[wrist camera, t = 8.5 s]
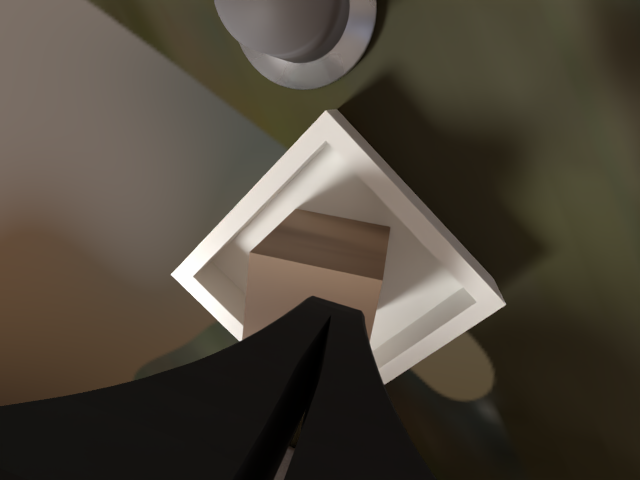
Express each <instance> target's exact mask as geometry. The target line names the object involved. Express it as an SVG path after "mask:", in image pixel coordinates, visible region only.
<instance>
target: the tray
mask: <svg viewBox="0 0 640 480" xmlns="http://www.w3.org/2000/svg"><path fill="white" fill-rule="evenodd" d="M295 209H300V210H306V211H311V212H316V213H321V214H326V215H332V216H337V217H342V218H347V219H352V220H357V221H363V222H368V223H373V224H378V225H383V226H389V227H390V234H389V241H388V248H387V255H386V262H385V269H384V275H383V282H382V286H381V291H380V296H379V301H378V305H377V310H376V315H375V319H374V324H373V329H372V334H371V338H370V346H371V349H372V352H373V355H374V358H375V361H376V364H377V367H378V370H379V373H380V376H381V378H382V381H383V383H384V385H385V384H386V383H388V382H389V381H391V380H392V379H394V378H396V377H397V376H399V375H400V374H402V373H403V372H405V371H406V370H408V369H409V368H411V367H412V366H414V365H415V364H417V363H418V362H420V361H421V360H423V359H424V358H426V357H427V356H429V355H430V354H432V353H433V352H435V351H437V350H438V349H439V348H441V347H443V346H444V345H446V344H447V343H449V342H450V341H452V340H453V339H455V338H456V337H458V336H459V335H461V334H462V333H464V332H465V331H467V330H468V329H470V328H471V327H473V326H475V325H476V324H478V323H479V322H481V321H482V320H484V319H485V318H487V317H488V316H490V315H491V314H493V313H494V312H496V311H497V310H499V309H500V308H502V307H503V306H505V305H506V303H505V301H504V299H503V297H502V295H501V293H500V291H499V289H498V286H497V284H496V282H495V280H494V278H493V277H492V276H491V275H490V274H489V273H488V272H487V271H486V270H485V269H484V268H483V267H482V265H481V264H480V263H479V262H478V261H477V260H476V259H475V258H474V257H473V256H472V255H471V254H470V252H469V251H468V250H467V249H466V248H465V247H464V246H463V245H462V244H461V243H460V242H459V241H458V240H457V238H456V237H455V236H454V235H453V234H452V233H451V232H450V231H449V230H448V229H447V228H446V227H445V225H444V224H443V223H442V222H441V221H440V220H439V219H438V218H437V217H436V216H435V215H434V214H433V212H432V211H431V210H430V209H429V208H428V207H427V206H426V205H425V204H424V203H423V202H422V201H421V199H420V198H419V197H418V196H417V195H416V194H415V193H414V192H413V191H412V190H411V189H410V188H409V186H408V185H407V184H406V183H405V182H404V181H403V180H402V179H401V178H400V177H399V176H398V175H397V174H396V172H395V171H394V170H393V169H392V168H391V167H390V166H389V165H388V164H387V163H386V162H385V161H384V159H383V158H382V157H381V156H380V155H379V154H378V153H377V152H376V151H375V150H374V149H373V148H372V146H371V145H370V144H369V143H368V142H367V141H366V140H365V139H364V138H363V137H362V136H361V135H360V133H359V132H358V131H357V130H356V129H355V128H354V127H353V126H352V125H351V124H350V123H349V122H348V121H347V119H346V118H345V117H344V116H343V115H342V114H341V113H340V112H339V111H338V110H337V109H334V110H326V111H325V112H324V113H323V114H322V115H321V116H320V117H319V118H318V119H317V120H316V121H315V122H314V123H313V124H312V126H311V127H310V128H309V129H308V130H307V131H306V132H305V133H304V134H303V135H302V136H301V137H300V138H299V139H298V140H297V141H296V142H295V144H294V145H293V146H292V147H291V148H290V149H289V150H288V151H287V152H286V153H285V154H284V155H283V156H282V157H281V159H279V161H278V162H277V163H276V164H275V165H274V166H273V167H272V168H271V169H270V170H269V171H268V172H267V173H266V174H265V175H264V176H263V177H262V179H261V180H260V181H259V182H258V183H257V184H256V185H255V186H254V187H253V188H252V189H251V190H250V191H249V192H248V193H247V194H246V195H245V197H244V198H243V199H242V200H241V201H240V202H239V203H238V204H237V205H236V206H235V207H234V208H233V209H232V210H231V212H229V214H228V215H227V216H226V217H225V218H224V219H223V220H222V221H221V222H220V223H219V224H218V225H217V226H216V228H214V229H213V230H212V232H211V233H210V234H209V235H208V236H207V237H206V238H205V239H204V240H203V241H202V242H201V243H200V244H199V245H198V246H197V248H196V249H195V250H194V251H193V252H192V253H191V254H190V255H189V256H188V257H187V258H186V259H185V260H184V261H183V262H182V263H181V264H180V265H179V267H178V268H177V269H176V270H175V271H174V272H173V273H172V274H171V275H172V276H173V277H174V278H175V279H176V280H177V281H178V282H179V283H180V284H181V285H182V286H183V287H184V288H185V289H186V290H187V291H188V292H190V294H191V295H192V296H193V297H194V298H196V299H197V300H198V301H199V302H200V303H201V304H202V305H203V306H204V307H205V308H206V309H207V310H208V311H209V312H210V313H211V314H212V315H213V316H214V317H215V318H216V319H217V320H218V321H219V322H220V323H221V324H222V325H223V326H224V327H225V328H226V329H227V330H228V331H229V332H230V333H231V334H232V335H233V336H234V337H236V338H237V339H238V340H239V341H241V340H242V335H243V323H244V311H245V299H246V287H247V275H248V263H249V252H250V251H251V250H252V249H253V248H254V247H256V246H257V245H258V244H259V243H260V242H261V241H262V240H263V239H264V238H265V237H266V236H267V235H268V234H269V233H270V232H271V231H272V230H274V229H275V228H276V227H277V226H278V225H279V224H280V223H281V222H282V221H283V220H284V219H285V218H286V217H287V216H288V215H289V214H290V213H292V212H293V211H294V210H295Z"/></svg>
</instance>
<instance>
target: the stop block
mask: <svg viewBox="0 0 640 480" xmlns="http://www.w3.org/2000/svg"><path fill="white" fill-rule="evenodd" d="M389 234H390V227H389V226H383V225H378V224H373V223H368V222H363V221H357V220H352V219H347V218H342V217H337V216H332V215H326V214H321V213H316V212H311V211H306V210H300V209H295V210H294V211H293V212H292V213H290V214H289V215H288V216H287V217H286V218H285V219H284V220H283V221H282V222H281V223H280V224H279V225H278V226H277V227H276V228H275V229H274V230H272V231H271V232H270V233H269V234H268V235H267V236H266V237H265V238H264V239H263V240H262V241H261V242H260V243H259V244H258V245H257V246H256V247H254V248H253V249H252V250H251V251H250V252H249V263H248V275H247V287H246V299H245V311H244V323H243V335H242V340H243V339H245V338H247V337H248V336H250V335H252V334H254V333H256V332H258V331H259V330H261V329H263V328H264V327H266V326H268V325H269V324H271V323H272V322H274V321H275V320H277V319H279V318H280V317H282V316H283V315H285V314H286V313H288V312H289V311H290V310H292V309H293V308H295V307H296V306H297V305H299V304H300V303H301V302H303V301H304V300H305V299H307V298H308V297H310V296H316V297H319V298H322V299H325V300H329V301H332V302H335V303H338V304H342V305H345V306H348V307H351V308H355V309H358V310H361V311H362V312H363V314H364V316H365V324H366V330H367V334H368V338H369V342H370V338H371V334H372V329H373V324H374V319H375V315H376V310H377V305H378V301H379V296H380V291H381V286H382V282H383V275H384V269H385V262H386V255H387V248H388V241H389Z"/></svg>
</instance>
